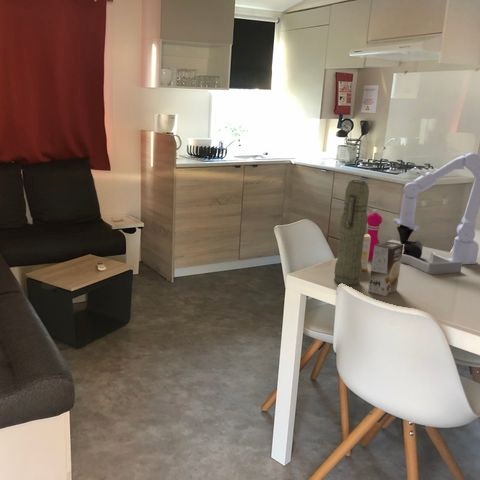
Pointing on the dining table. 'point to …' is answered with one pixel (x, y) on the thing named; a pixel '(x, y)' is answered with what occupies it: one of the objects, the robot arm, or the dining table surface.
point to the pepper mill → (373, 230)
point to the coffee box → (385, 268)
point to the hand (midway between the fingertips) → (403, 243)
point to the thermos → (352, 233)
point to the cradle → (433, 264)
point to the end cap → (413, 249)
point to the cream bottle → (365, 251)
